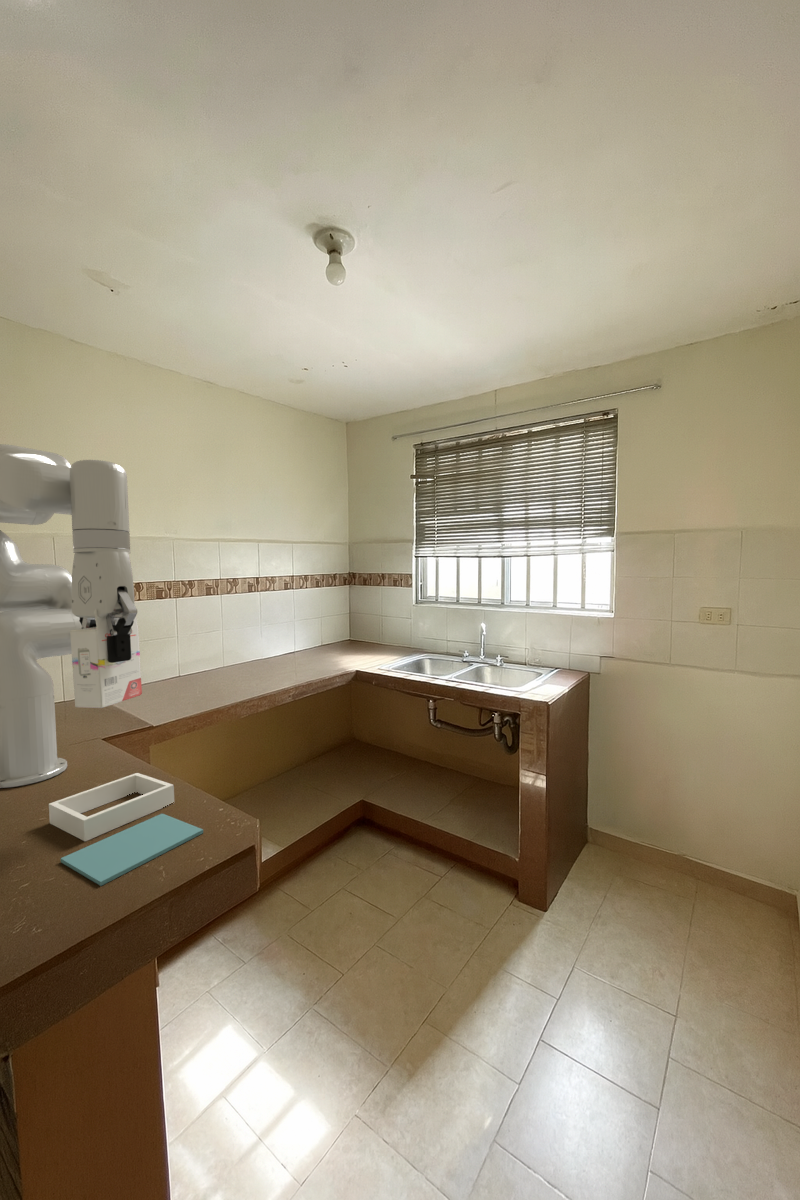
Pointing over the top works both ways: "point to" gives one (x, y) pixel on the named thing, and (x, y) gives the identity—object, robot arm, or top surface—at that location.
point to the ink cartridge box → (103, 667)
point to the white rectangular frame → (86, 828)
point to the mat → (130, 848)
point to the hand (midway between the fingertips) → (107, 658)
